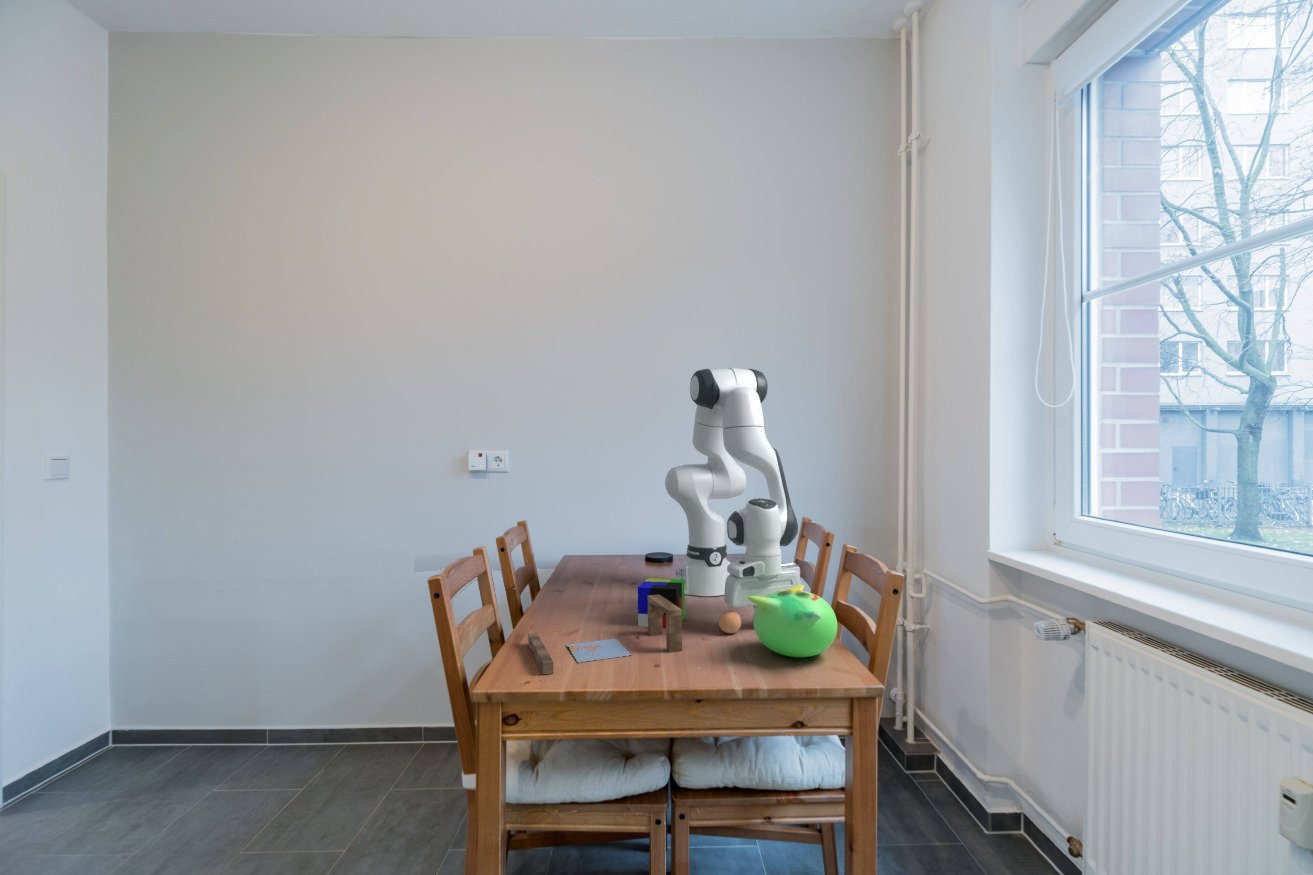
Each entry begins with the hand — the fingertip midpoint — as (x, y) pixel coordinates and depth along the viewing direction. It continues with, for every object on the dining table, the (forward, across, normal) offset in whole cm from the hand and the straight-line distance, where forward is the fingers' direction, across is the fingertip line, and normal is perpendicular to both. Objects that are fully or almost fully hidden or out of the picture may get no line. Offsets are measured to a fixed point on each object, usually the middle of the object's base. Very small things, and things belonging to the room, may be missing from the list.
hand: (764, 621), depth 158 cm
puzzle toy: (+2, +21, -15) cm, 26 cm away
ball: (-1, +9, 0) cm, 9 cm away
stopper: (+2, +55, 0) cm, 55 cm away
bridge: (+2, +26, 0) cm, 26 cm away
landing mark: (+2, +42, 0) cm, 42 cm away
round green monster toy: (+2, +4, +19) cm, 19 cm away
